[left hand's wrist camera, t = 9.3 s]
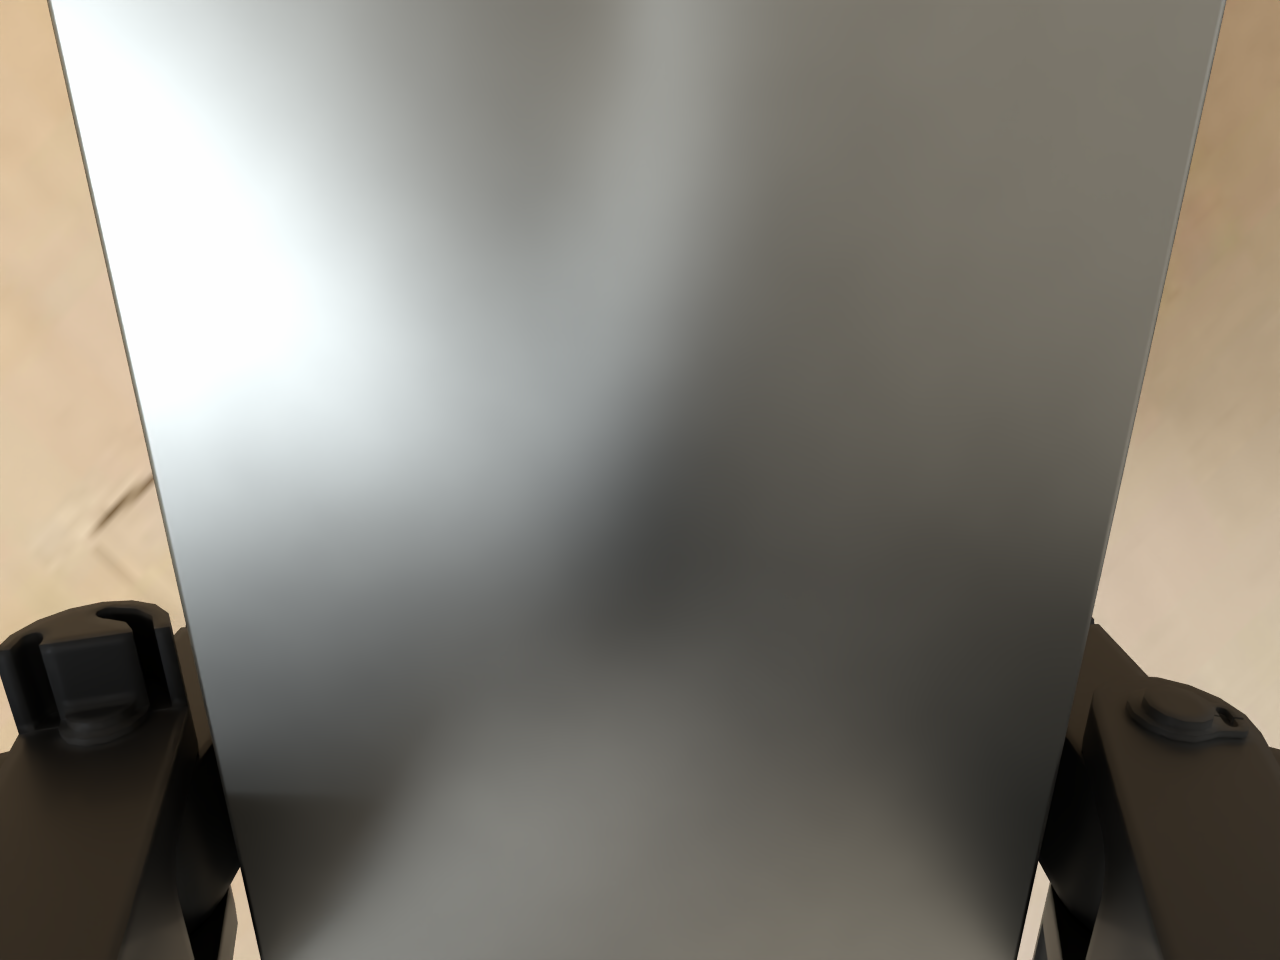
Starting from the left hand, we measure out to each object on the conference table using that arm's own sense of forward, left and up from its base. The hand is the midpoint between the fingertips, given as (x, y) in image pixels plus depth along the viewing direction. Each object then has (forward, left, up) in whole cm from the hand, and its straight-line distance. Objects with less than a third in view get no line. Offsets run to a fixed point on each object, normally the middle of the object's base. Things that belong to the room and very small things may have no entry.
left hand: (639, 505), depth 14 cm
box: (+8, 0, -1) cm, 8 cm away
